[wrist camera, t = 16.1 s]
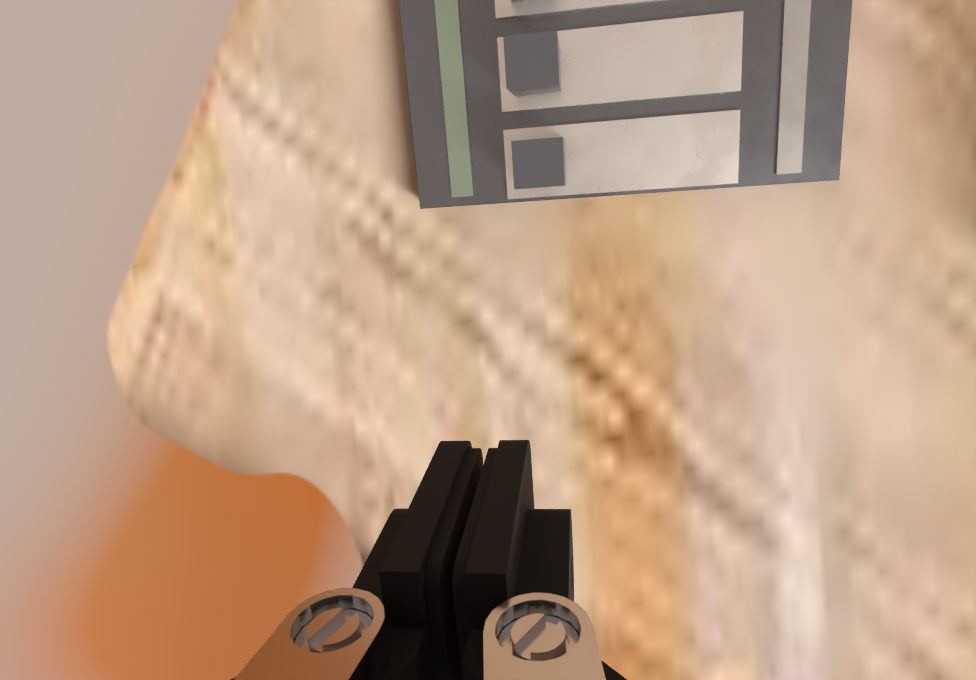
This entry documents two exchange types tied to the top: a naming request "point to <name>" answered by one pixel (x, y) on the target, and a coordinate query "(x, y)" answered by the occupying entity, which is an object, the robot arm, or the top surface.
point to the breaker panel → (628, 95)
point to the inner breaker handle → (539, 163)
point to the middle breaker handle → (532, 63)
